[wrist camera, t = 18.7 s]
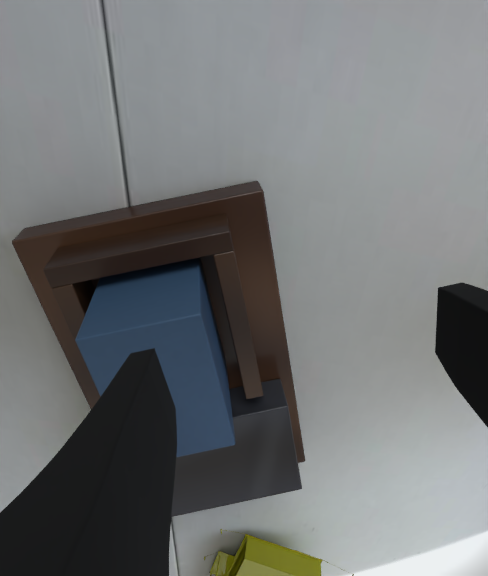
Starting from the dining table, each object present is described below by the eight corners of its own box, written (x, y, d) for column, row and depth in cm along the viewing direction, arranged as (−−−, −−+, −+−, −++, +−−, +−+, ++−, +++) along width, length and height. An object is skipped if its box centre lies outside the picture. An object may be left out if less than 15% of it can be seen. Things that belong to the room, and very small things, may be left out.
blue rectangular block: (226, 362, 21) (236, 445, 16) (144, 379, 21) (131, 467, 16) (198, 249, 18) (201, 313, 13) (102, 269, 18) (74, 339, 13)
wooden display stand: (299, 441, 26) (314, 493, 23) (135, 476, 26) (128, 532, 23) (258, 180, 18) (271, 205, 15) (23, 228, 18) (-11, 263, 15)
